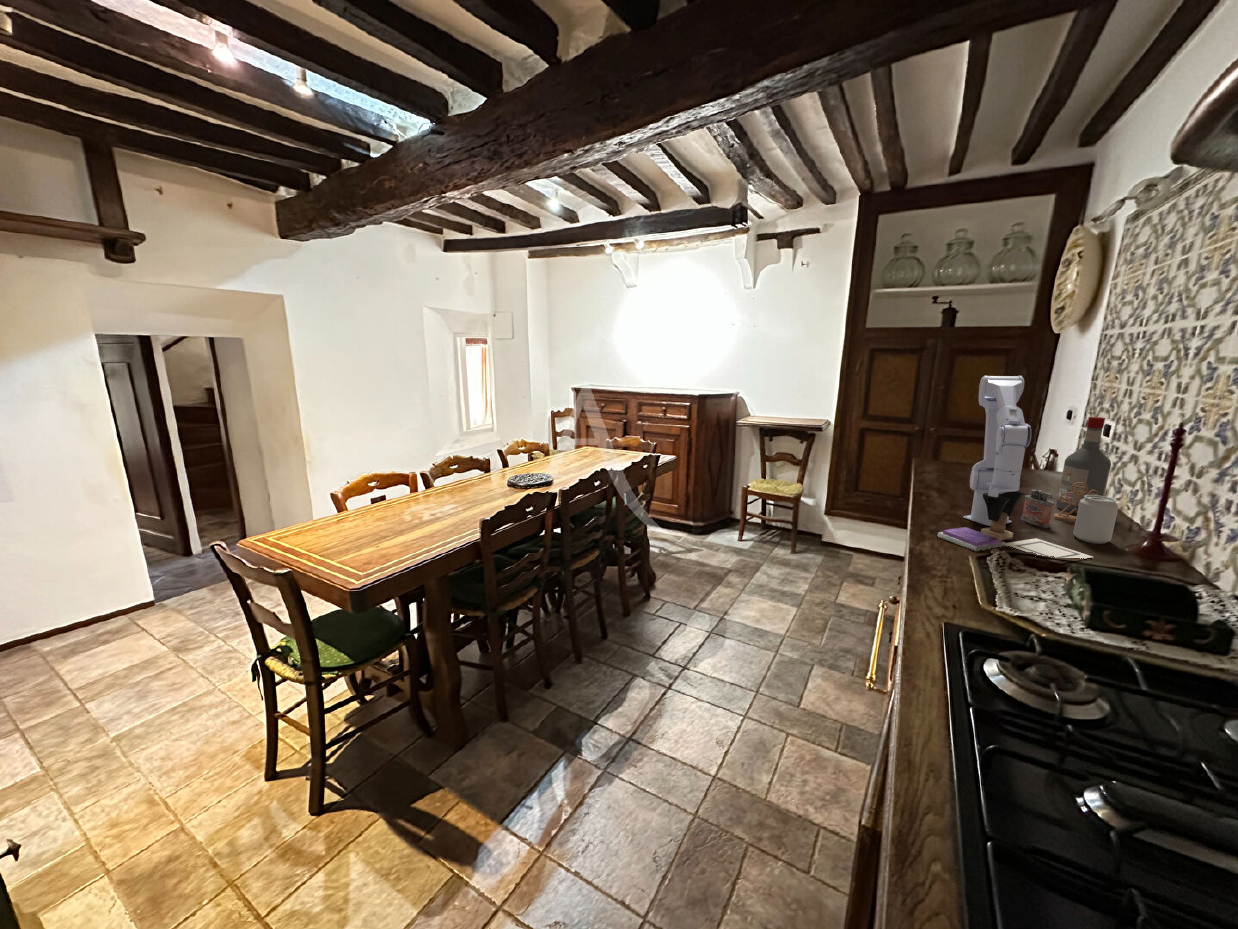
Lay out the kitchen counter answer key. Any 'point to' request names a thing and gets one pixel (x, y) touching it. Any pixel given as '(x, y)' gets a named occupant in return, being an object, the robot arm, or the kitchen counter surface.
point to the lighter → (1038, 508)
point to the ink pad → (970, 539)
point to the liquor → (1085, 467)
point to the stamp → (998, 529)
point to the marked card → (1046, 549)
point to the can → (1096, 519)
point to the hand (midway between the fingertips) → (999, 517)
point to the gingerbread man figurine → (1068, 516)
